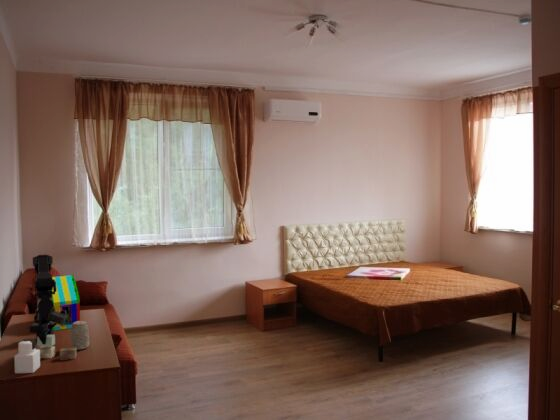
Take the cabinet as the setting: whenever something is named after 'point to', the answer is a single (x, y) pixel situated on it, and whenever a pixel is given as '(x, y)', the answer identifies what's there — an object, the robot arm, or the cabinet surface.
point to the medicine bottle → (27, 357)
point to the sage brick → (49, 341)
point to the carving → (80, 335)
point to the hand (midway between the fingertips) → (46, 342)
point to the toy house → (66, 300)
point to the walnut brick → (68, 353)
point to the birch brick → (47, 351)
